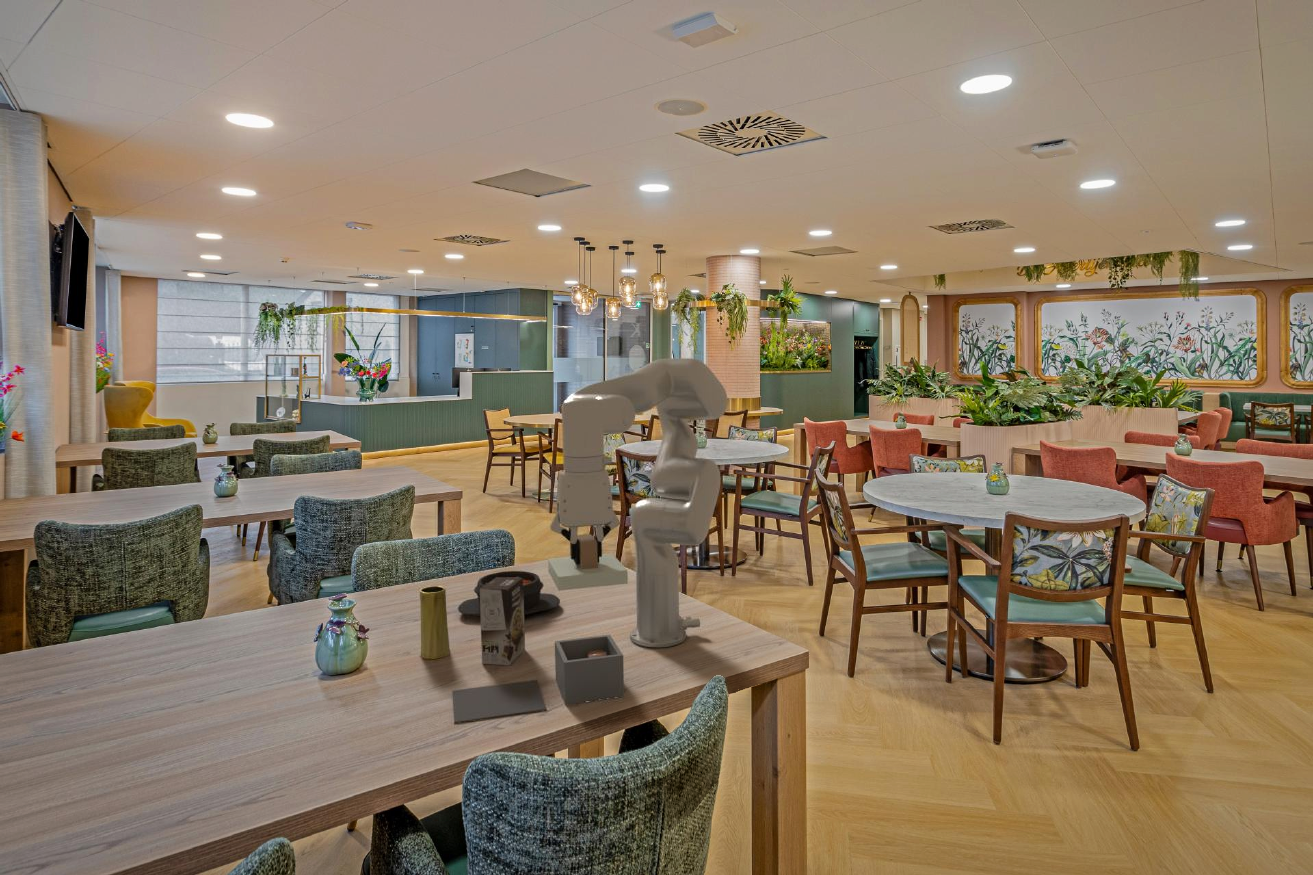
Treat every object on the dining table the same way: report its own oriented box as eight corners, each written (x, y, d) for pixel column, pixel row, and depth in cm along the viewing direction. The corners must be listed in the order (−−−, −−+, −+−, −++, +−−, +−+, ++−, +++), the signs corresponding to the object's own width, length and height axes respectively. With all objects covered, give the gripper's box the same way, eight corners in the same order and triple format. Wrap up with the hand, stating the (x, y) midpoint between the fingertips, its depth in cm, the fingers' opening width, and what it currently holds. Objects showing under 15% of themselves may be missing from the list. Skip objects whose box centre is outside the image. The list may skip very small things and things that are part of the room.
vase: (434, 662, 158) (431, 595, 157) (414, 656, 162) (411, 591, 160) (456, 652, 164) (453, 587, 162) (436, 646, 167) (433, 583, 165)
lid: (611, 565, 150) (611, 528, 149) (627, 583, 138) (626, 543, 137) (548, 571, 147) (547, 533, 146) (558, 590, 135) (557, 549, 134)
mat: (537, 681, 148) (537, 679, 148) (546, 710, 136) (546, 708, 136) (452, 692, 144) (452, 690, 144) (454, 723, 131) (454, 722, 131)
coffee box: (510, 666, 156) (507, 589, 154) (480, 664, 157) (478, 588, 155) (526, 649, 165) (524, 576, 163) (498, 647, 166) (496, 575, 164)
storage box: (610, 673, 151) (609, 634, 151) (624, 696, 141) (623, 655, 140) (555, 680, 148) (554, 641, 147) (565, 705, 138) (564, 662, 137)
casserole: (455, 628, 178) (454, 593, 177) (460, 603, 196) (459, 571, 195) (562, 620, 183) (561, 586, 182) (558, 596, 201) (557, 565, 200)
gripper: (622, 459, 146) (623, 553, 148) (536, 464, 141) (539, 560, 143) (631, 465, 139) (633, 563, 141) (542, 470, 134) (545, 571, 136)
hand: (586, 561), depth 142 cm, fingers closed on lid, 3 cm apart
